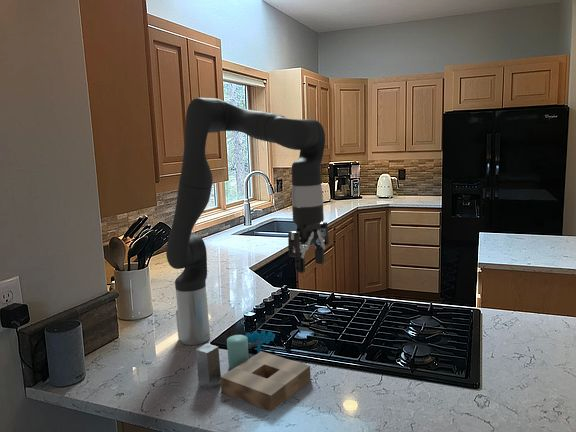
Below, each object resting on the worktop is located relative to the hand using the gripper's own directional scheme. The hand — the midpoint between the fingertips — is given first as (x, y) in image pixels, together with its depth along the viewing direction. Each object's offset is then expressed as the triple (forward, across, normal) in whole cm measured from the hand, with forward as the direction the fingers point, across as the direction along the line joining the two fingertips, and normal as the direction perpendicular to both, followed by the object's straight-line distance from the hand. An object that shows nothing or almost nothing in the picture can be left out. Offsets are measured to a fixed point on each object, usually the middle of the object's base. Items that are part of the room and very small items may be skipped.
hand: (310, 267), depth 116 cm
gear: (+30, -4, -23) cm, 38 cm away
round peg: (+29, +6, -21) cm, 37 cm away
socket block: (+29, +10, -8) cm, 32 cm away
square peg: (+29, +17, -21) cm, 40 cm away
